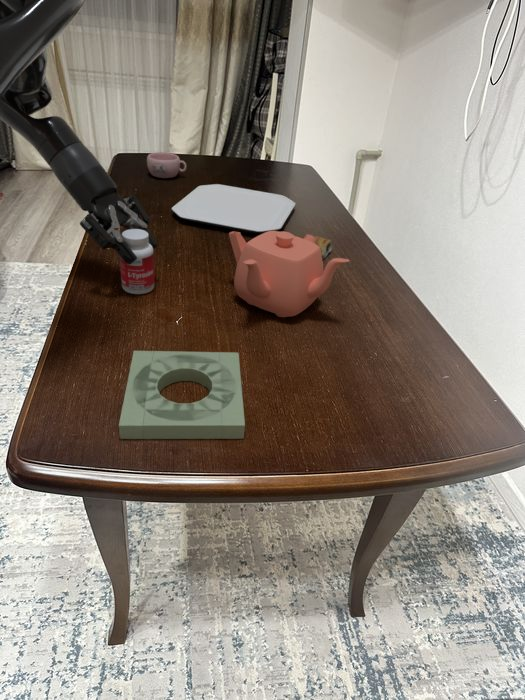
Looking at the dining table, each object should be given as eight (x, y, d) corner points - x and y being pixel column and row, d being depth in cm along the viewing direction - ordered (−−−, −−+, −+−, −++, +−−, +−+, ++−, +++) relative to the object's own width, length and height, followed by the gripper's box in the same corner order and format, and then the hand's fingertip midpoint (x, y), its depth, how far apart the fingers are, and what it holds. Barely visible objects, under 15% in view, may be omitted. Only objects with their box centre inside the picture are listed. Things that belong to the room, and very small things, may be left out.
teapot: (336, 325, 90) (351, 256, 82) (238, 329, 86) (244, 257, 78) (308, 278, 105) (319, 215, 97) (223, 280, 101) (226, 214, 92)
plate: (298, 205, 142) (299, 197, 140) (275, 242, 118) (276, 233, 117) (203, 188, 146) (203, 181, 144) (164, 221, 123) (163, 212, 121)
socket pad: (120, 439, 63) (118, 425, 62) (134, 363, 76) (133, 350, 74) (243, 438, 65) (245, 425, 64) (237, 365, 78) (238, 352, 76)
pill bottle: (127, 297, 91) (122, 242, 85) (118, 282, 96) (113, 229, 89) (159, 292, 94) (157, 238, 88) (149, 278, 98) (146, 225, 92)
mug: (144, 179, 148) (143, 159, 144) (150, 170, 156) (150, 150, 152) (184, 183, 148) (184, 163, 145) (188, 173, 156) (188, 154, 153)
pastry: (286, 251, 115) (288, 235, 113) (296, 241, 120) (298, 226, 118) (324, 261, 112) (326, 245, 110) (332, 251, 117) (335, 236, 115)
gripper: (65, 174, 79) (132, 259, 82) (119, 155, 90) (176, 232, 94) (44, 199, 83) (109, 279, 87) (98, 179, 94) (154, 251, 98)
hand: (144, 254), depth 90 cm, fingers closed on pill bottle, 6 cm apart
